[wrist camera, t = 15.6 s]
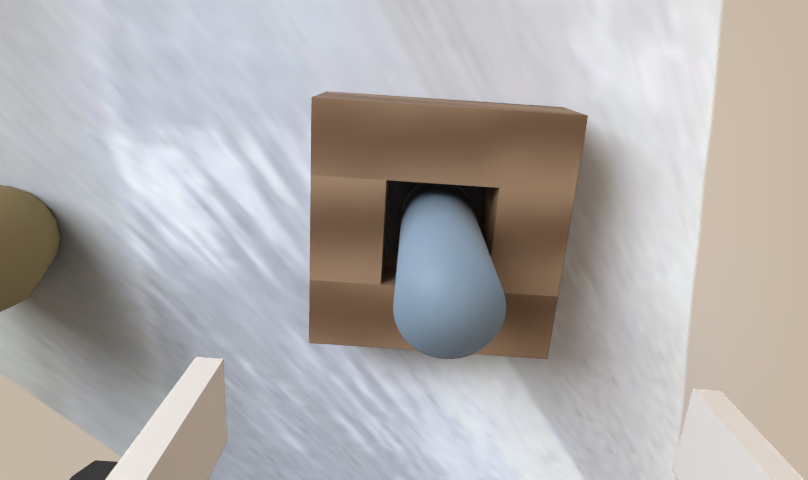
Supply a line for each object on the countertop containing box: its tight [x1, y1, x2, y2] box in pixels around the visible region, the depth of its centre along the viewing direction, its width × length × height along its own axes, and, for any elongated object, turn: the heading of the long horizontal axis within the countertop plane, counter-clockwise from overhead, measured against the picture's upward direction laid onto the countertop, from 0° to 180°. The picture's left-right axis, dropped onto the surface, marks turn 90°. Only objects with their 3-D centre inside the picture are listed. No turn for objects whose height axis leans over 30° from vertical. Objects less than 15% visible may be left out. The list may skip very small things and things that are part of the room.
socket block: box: [309, 92, 588, 359], centre depth 32 cm, size 14×14×5 cm
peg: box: [393, 183, 506, 359], centre depth 28 cm, size 4×4×14 cm
